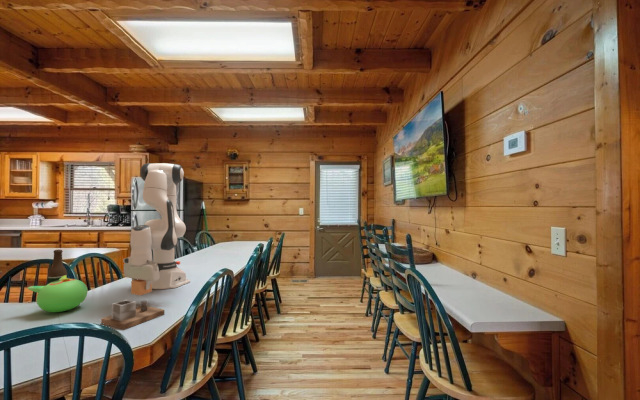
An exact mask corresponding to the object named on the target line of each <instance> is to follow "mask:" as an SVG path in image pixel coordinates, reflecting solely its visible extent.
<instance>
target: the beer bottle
mask: <svg viewBox="0 0 640 400" xmlns="http://www.w3.org/2000/svg"><path fill="white" fill-rule="evenodd" d="M63 263H64V262H63V249H55V250H53V259H52V266H51V267H50V268H49V270H48V272H47V284H49V283H52V282H54V281H57V280H59V279H60V278H61V277H62V276H64V275H66V276H67V277H68V270H67V269H66V267H65V266H64V264H63Z"/></svg>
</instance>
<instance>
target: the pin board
mask: <svg viewBox="0 0 640 400" xmlns="http://www.w3.org/2000/svg"><path fill="white" fill-rule="evenodd" d="M163 315H165V309H162V308H157V307H154V306H148V300H141V301H140V305H139V306H137V301H134V300H129V299H124V300H120V301H117V302H113V303H111V314H110V315H107V316H105V317H102V318H100V324H101V323H104V324H103V325H105V326H109V325H110V326H109V327H113V328H117V329H121V330H126V329H129V328H133V327H134V326H137V325H140V324H143V323H146V322H147V321H151V320H154V319H156V318H158V317H162V316H163Z"/></svg>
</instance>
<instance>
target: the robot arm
mask: <svg viewBox="0 0 640 400" xmlns="http://www.w3.org/2000/svg"><path fill="white" fill-rule="evenodd" d="M139 171H140V172H139V173H140V178H141V179H142V181H144V185H143V190H142V199H143V201H144V203H146V205H147V206H149V207H152V208H154V209H155V211H156V212H158V213H159V214H160V217H161V219H160V218H154V219H149V220H147V221H145V222H144V224H142V225H135V226H134V227H132V229H131V232H130V233H131V234H130V242H129V243H130V249H131V250H130V256H128V257H126V258H125V257H124V258H123V259H122V261H123V263H124V264H123V275H124V277H125V278H129V279H131V281H134V280H137V279H139V280H145V281H146V286H144V287H145V288H144V289H146V290H148V289H150V284H151V282H152V290H166V289H176V288H178V287H181V286H184V285H186V284H189V283H191V280H190V279H189V278H187V275H186V272H185V271H184V270H182V269H180V268H179V267H178V266H179V265H181V261H178V260H177V261H175V247H176V246H177V244H178V238H179V239H180V238H182V237H183V236H184V235H185V233H186V230H187V227H186V224H185V222H184V221H183V220H181V218H180V216H179V214H178V210H177V185H178V184H179V183H181V182H182V181H183V178H184V176H185V175H184V174H185V172H184V169H183V167H182V165H181V164H176V163H167V162H166V163H165V162H162V163H160V162H159V163H157V162H155V163H150V162H149V163H148V162H147V163H144V164H143V165H141V166H140V169H139Z"/></svg>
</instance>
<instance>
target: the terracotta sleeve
mask: <svg viewBox="0 0 640 400" xmlns="http://www.w3.org/2000/svg"><path fill="white" fill-rule="evenodd" d="M130 285H131V287H130V289H131V291H130V292H131V295H137V296H143V295H146V294H149V293H152V290H153V289H152V282H151V284H150V289H148V290H146V289H144V288H145V287H144V286H146V281H145V280H139V279H137V280H134V281H132V280H131V281H130Z"/></svg>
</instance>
